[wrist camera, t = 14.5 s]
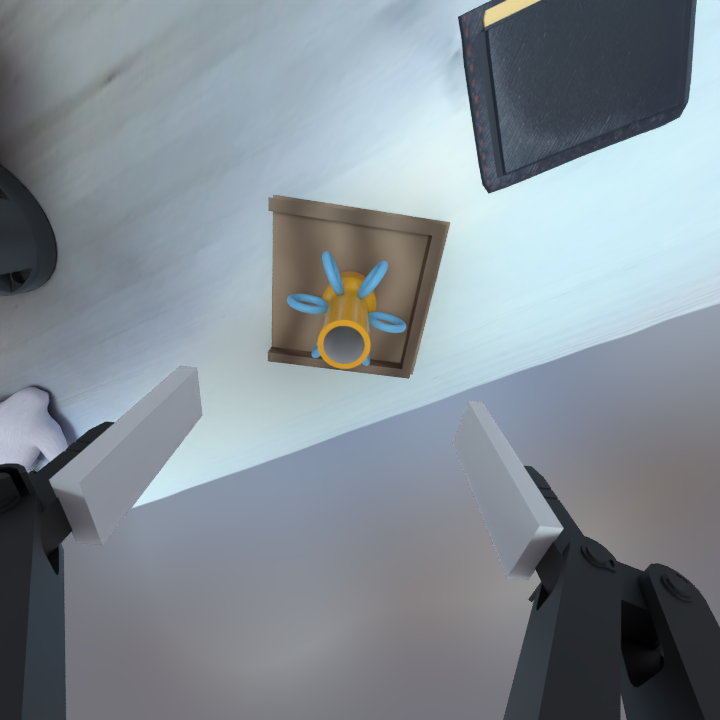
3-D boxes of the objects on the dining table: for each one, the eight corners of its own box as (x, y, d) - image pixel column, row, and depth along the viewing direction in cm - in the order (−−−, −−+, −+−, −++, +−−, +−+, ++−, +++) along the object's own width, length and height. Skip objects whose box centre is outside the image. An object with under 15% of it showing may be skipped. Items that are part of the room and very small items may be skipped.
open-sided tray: (274, 353, 41) (268, 363, 38) (276, 195, 32) (268, 193, 30) (411, 370, 42) (414, 381, 39) (447, 222, 34) (454, 223, 31)
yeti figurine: (87, 485, 55) (130, 420, 48) (58, 521, 49) (101, 452, 42) (-47, 437, 48) (-20, 352, 41) (-100, 472, 42) (-79, 379, 35)
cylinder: (288, 261, 34) (241, 292, 21) (374, 227, 33) (384, 238, 19) (328, 352, 39) (312, 425, 26) (405, 327, 38) (430, 391, 24)
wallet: (486, 195, 31) (460, -2, 25) (480, 196, 33) (453, 11, 27) (698, 118, 29) (729, -126, 22) (679, 123, 30) (703, -102, 24)
